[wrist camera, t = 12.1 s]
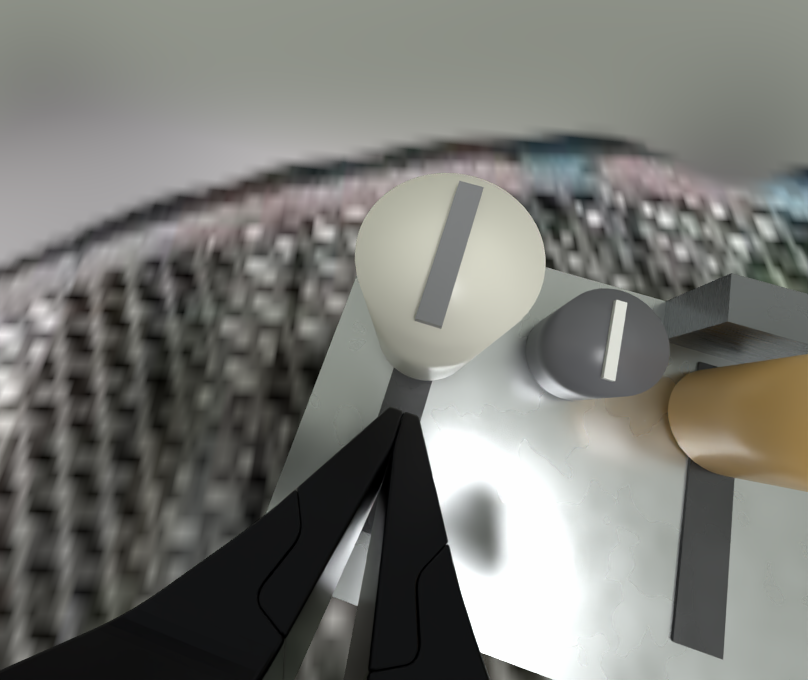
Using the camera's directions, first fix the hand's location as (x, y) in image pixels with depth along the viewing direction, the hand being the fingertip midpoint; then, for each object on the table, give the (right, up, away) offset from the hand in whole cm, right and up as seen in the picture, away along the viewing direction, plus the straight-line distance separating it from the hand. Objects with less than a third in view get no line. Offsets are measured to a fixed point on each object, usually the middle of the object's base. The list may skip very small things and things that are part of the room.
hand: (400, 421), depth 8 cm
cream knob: (+1, +3, +6) cm, 6 cm away
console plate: (+6, -2, +6) cm, 9 cm away
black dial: (+8, +2, +6) cm, 10 cm away
